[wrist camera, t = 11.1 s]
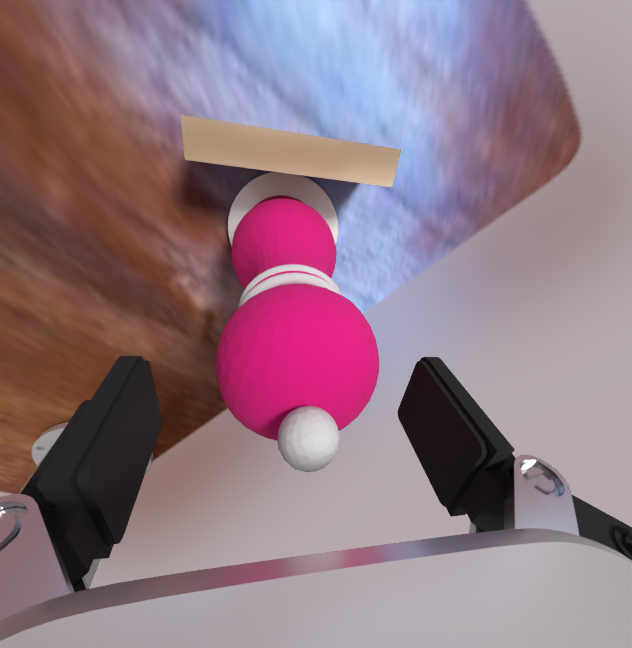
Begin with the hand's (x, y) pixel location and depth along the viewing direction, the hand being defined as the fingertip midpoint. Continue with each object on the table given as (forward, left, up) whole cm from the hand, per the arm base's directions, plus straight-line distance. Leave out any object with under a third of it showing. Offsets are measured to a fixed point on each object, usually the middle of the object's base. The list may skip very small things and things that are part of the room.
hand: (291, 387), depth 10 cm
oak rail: (+7, 0, -17) cm, 19 cm away
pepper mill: (0, 0, -17) cm, 17 cm away
